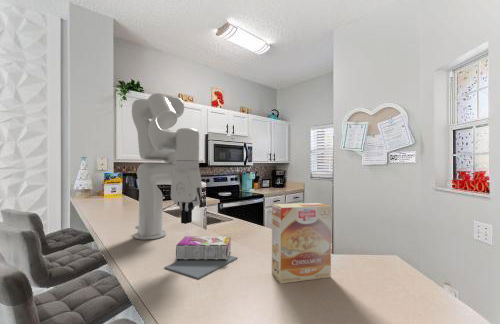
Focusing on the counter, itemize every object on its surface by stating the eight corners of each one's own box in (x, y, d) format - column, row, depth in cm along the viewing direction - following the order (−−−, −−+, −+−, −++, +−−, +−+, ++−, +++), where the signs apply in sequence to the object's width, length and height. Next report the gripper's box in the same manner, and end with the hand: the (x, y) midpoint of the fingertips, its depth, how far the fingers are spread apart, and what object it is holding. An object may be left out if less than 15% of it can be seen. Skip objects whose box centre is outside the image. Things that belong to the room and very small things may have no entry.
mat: (164, 268, 73) (164, 266, 73) (206, 251, 88) (206, 250, 88) (198, 279, 66) (198, 277, 66) (237, 258, 81) (237, 257, 81)
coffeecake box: (280, 284, 63) (280, 207, 64) (270, 273, 70) (271, 203, 71) (332, 277, 67) (332, 205, 68) (318, 267, 74) (318, 201, 75)
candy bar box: (185, 235, 90) (230, 235, 89) (184, 249, 89) (230, 249, 89) (175, 244, 78) (227, 244, 78) (175, 260, 78) (227, 261, 78)
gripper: (162, 166, 83) (161, 222, 82) (195, 166, 75) (195, 228, 74) (179, 166, 89) (179, 218, 88) (212, 166, 81) (211, 223, 81)
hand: (186, 222), depth 81 cm, fingers closed
